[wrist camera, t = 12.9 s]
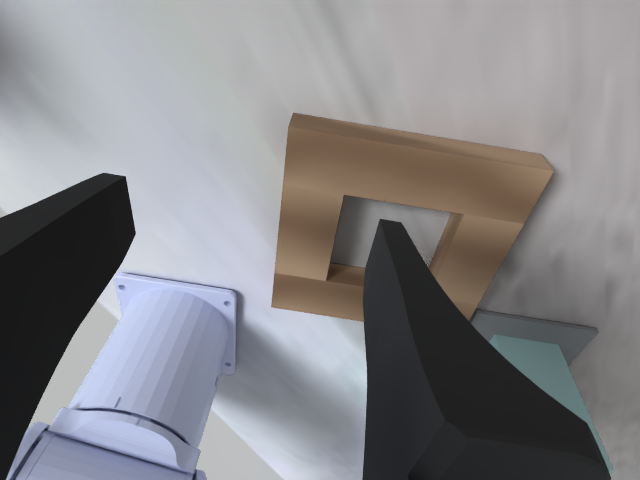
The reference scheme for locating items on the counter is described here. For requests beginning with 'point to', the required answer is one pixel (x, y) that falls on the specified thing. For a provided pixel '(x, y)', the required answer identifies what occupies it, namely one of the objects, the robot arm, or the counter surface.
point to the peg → (548, 375)
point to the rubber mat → (534, 331)
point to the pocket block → (403, 188)
